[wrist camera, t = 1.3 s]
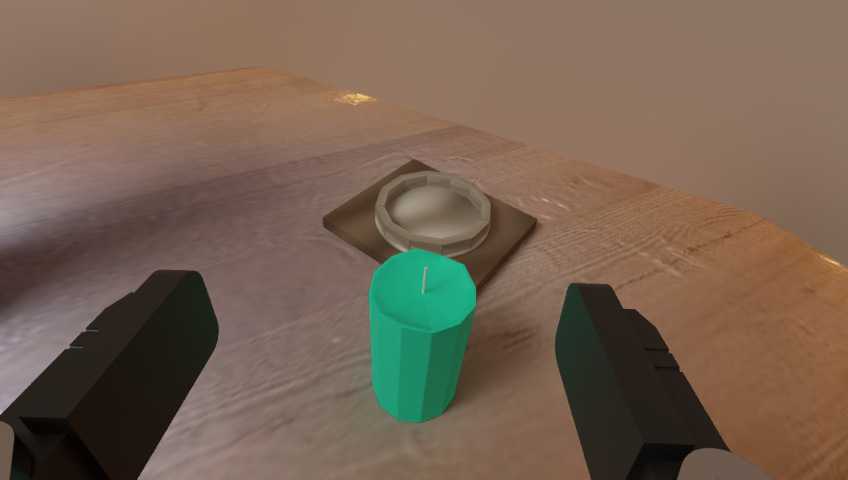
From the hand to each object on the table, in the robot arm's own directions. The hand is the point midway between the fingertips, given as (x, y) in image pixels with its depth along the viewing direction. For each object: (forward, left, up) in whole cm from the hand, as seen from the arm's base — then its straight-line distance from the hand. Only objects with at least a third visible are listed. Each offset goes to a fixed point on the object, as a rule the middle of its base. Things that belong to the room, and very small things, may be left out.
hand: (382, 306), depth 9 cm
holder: (-13, +22, -21) cm, 33 cm away
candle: (-4, +8, -21) cm, 23 cm away
